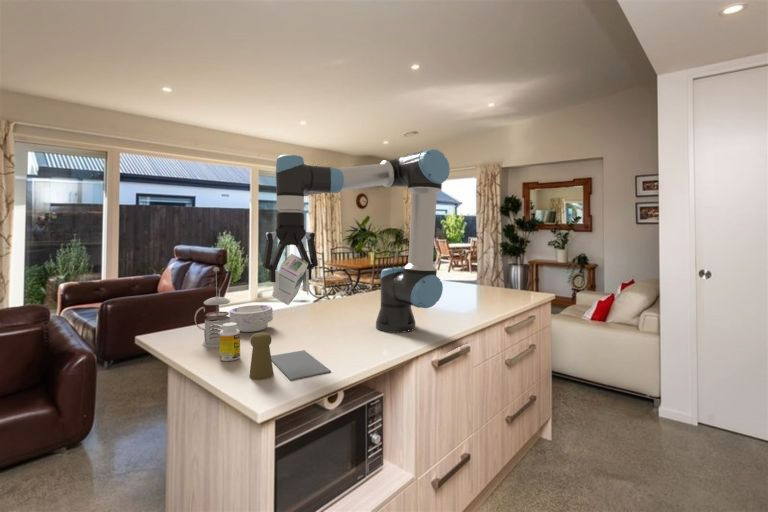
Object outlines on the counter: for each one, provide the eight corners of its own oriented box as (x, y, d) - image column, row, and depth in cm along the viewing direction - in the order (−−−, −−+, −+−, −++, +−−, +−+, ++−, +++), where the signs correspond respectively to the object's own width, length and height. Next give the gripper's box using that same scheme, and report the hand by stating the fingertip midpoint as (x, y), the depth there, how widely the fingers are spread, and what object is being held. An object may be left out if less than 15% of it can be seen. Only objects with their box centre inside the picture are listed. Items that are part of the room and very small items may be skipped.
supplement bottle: (236, 362, 110) (235, 326, 109) (216, 361, 110) (215, 326, 109) (243, 355, 116) (242, 321, 115) (224, 355, 116) (224, 321, 115)
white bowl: (223, 328, 146) (223, 307, 146) (262, 322, 156) (261, 302, 156) (239, 337, 135) (239, 314, 134) (280, 329, 145) (279, 308, 144)
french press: (236, 344, 126) (234, 268, 125) (196, 350, 121) (194, 269, 119) (231, 337, 135) (229, 265, 133) (194, 341, 129) (192, 266, 127)
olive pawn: (244, 378, 98) (243, 336, 97) (256, 370, 104) (255, 329, 103) (267, 380, 97) (266, 337, 96) (277, 371, 103) (276, 330, 102)
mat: (268, 357, 114) (268, 356, 114) (304, 351, 120) (304, 350, 120) (290, 380, 97) (290, 379, 97) (330, 372, 103) (330, 370, 103)
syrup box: (288, 306, 114) (300, 275, 105) (270, 296, 114) (280, 264, 105) (297, 293, 118) (309, 262, 109) (280, 284, 118) (291, 252, 109)
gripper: (319, 213, 118) (320, 287, 119) (249, 211, 107) (250, 293, 108) (330, 212, 111) (330, 291, 113) (255, 210, 100) (257, 297, 102)
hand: (291, 292), depth 111 cm, fingers closed on syrup box, 8 cm apart
